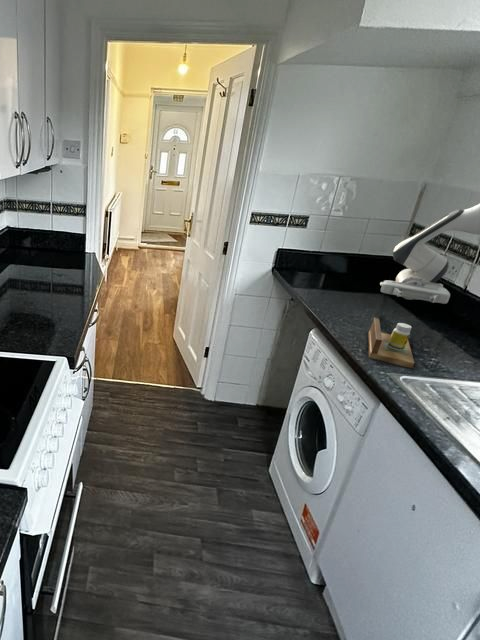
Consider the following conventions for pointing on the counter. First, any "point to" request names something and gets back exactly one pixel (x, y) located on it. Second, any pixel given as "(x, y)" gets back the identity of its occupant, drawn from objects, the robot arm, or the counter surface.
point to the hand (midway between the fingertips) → (416, 297)
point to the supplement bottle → (399, 337)
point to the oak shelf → (387, 348)
